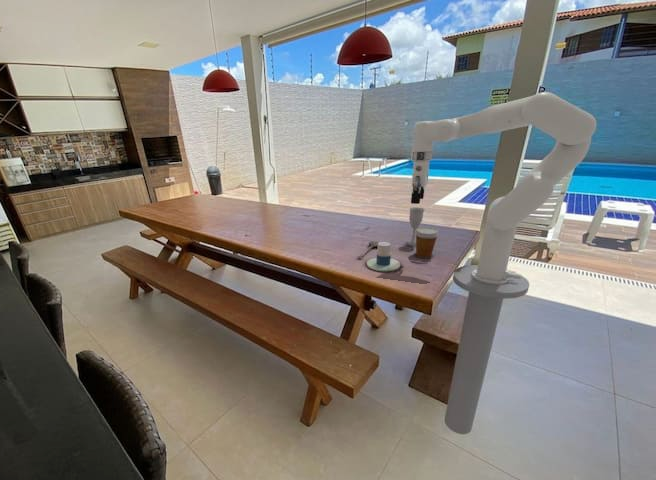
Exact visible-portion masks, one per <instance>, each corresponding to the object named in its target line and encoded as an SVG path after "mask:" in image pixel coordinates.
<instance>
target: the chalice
mask: <svg viewBox="0 0 656 480" xmlns="http://www.w3.org/2000/svg"><path fill="white" fill-rule="evenodd" d="M408 209H409V216H408V217H409V218H408V219H409V223H410V227H411V228H412V229H413V230H412V235H411V236H412V237H411V239H410V240H408V242H407V244H408V245H409V246H416V233H415V232H416V230H417V229H418V228H419V227H420V225H421V223H422V222H423V218H424V217H423V216H424V212H425V209H424V208H423V207H410V208H408Z"/></svg>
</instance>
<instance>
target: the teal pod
mask: <svg viewBox="0 0 656 480" xmlns="http://www.w3.org/2000/svg"><path fill="white" fill-rule="evenodd" d="M376 258H377V260H376V263H377V264H378V265H381V266H387V265H390V260H391V258H392V253H391V252H390V255H388V256H381V255H378V254H377V253H376Z"/></svg>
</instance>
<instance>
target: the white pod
mask: <svg viewBox="0 0 656 480" xmlns="http://www.w3.org/2000/svg"><path fill="white" fill-rule="evenodd" d="M378 242H379V243H378V246H377V250H376V255H377V254H378V255H381V256H388V255H390V253H391V245H392V244H391V243H390V242H387V241H378Z"/></svg>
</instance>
